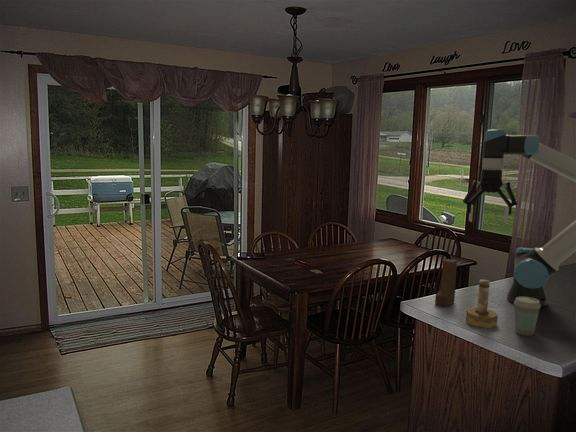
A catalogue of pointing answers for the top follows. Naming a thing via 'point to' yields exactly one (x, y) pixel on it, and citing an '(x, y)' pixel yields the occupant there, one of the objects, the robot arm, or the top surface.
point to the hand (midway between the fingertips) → (488, 221)
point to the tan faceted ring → (481, 318)
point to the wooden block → (447, 283)
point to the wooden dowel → (483, 297)
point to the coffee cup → (526, 315)
